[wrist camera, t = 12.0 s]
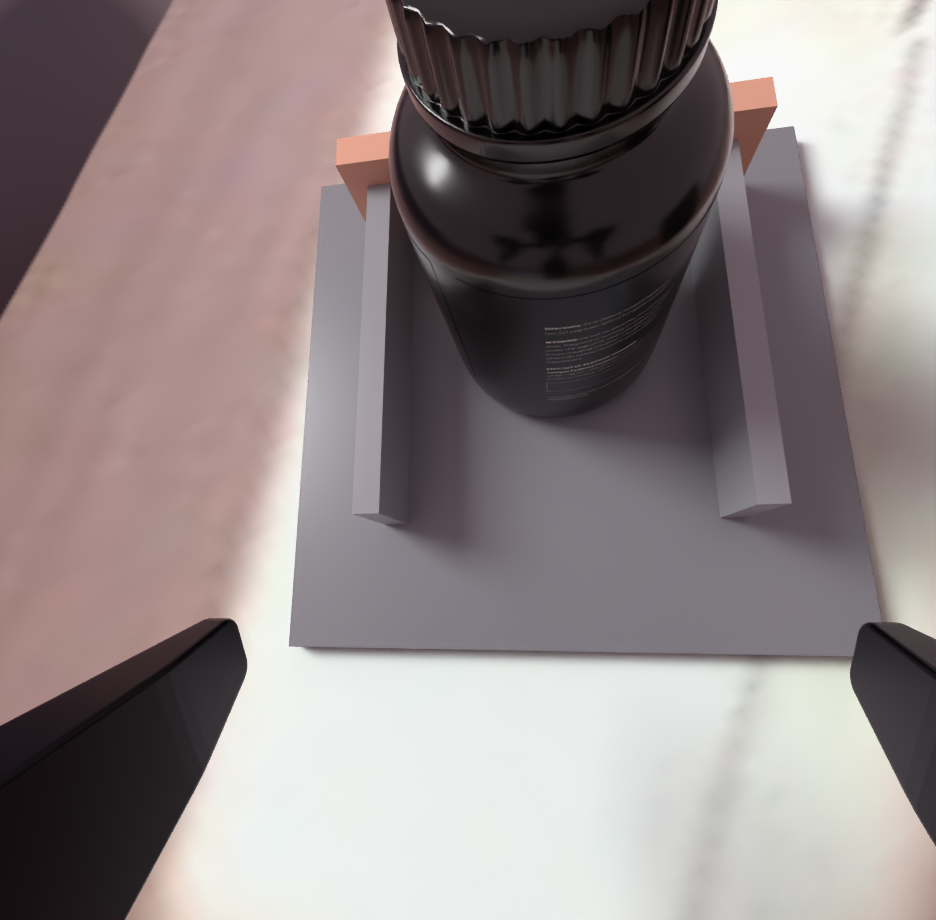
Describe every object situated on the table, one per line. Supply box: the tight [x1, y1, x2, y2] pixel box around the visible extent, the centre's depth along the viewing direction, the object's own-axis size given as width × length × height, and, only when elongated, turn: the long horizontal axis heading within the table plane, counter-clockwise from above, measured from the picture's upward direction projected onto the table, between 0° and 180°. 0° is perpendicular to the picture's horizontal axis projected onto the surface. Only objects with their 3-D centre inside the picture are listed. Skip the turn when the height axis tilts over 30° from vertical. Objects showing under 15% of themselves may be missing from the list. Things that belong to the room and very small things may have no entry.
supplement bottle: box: [386, 0, 734, 418], centre depth 12 cm, size 7×7×12 cm
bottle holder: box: [289, 77, 882, 657], centre depth 16 cm, size 18×18×5 cm
